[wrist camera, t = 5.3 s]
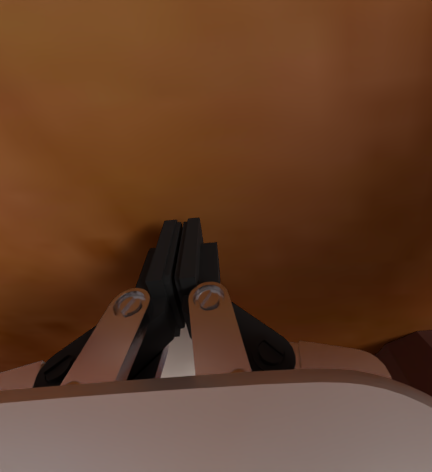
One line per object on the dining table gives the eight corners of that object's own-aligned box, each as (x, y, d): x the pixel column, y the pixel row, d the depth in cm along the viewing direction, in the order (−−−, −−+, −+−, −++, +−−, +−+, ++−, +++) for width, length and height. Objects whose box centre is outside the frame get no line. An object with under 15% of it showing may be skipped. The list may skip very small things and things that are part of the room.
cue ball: (110, 401, 11) (155, 334, 17) (217, 427, 10) (228, 349, 16) (112, 299, 10) (160, 264, 16) (231, 321, 9) (237, 276, 15)
